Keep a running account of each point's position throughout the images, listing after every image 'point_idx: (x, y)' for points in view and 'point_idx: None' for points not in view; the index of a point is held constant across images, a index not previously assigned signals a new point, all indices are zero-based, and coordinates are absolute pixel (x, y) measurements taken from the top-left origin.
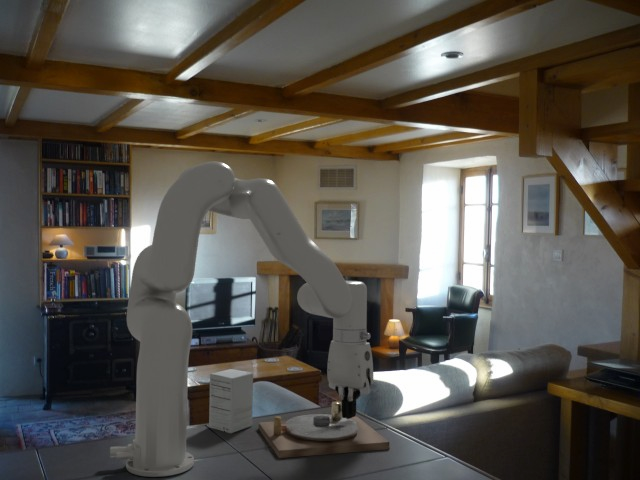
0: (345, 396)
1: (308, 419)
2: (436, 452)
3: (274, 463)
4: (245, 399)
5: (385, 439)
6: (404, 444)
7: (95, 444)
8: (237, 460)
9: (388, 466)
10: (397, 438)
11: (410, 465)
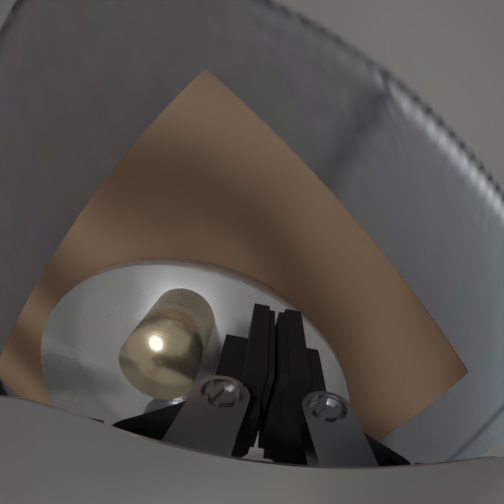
0: (240, 457)
1: (97, 386)
2: None
3: None
4: None
5: (456, 359)
6: (497, 284)
7: None
8: None
9: (452, 451)
10: (472, 227)
11: (497, 418)
